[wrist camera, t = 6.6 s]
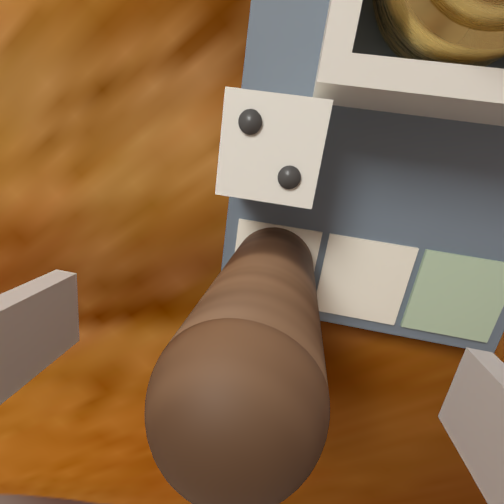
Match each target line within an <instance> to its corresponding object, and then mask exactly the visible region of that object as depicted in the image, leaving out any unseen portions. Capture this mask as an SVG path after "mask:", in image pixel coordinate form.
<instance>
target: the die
mask: <svg viewBox="0 0 504 504" xmlns="http://www.w3.org/2000/svg"><path fill="white" fill-rule="evenodd" d="M332 105H333V100H332V99H324V98H315V97H307V96H299V95H291V94H282V93H274V92H266V91H258V90H249V89H241V88H233V87H225V95H224V106H223V116H222V127H221V137H220V148H219V158H218V169H217V179H216V190H215V194H217V195H223V196H230V197H236V198H243V199H249V200H255V201H262V202H268V203H274V204H281V205H287V206H293V207H300V208H306V209H312V205H313V200H314V195H315V190H316V185H317V180H318V175H319V170H320V165H321V160H322V155H323V150H324V145H325V140H326V135H327V130H328V125H329V120H330V115H331V110H332Z"/></svg>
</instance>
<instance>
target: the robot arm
mask: <svg viewBox="0 0 504 504" xmlns="http://www.w3.org/2000/svg"><path fill="white" fill-rule="evenodd" d="M78 341H79V319H78V296H77V273H72V272H67V271H62V270H54V271H52V272H50V273H48V274H45V275H43V276H41V277H38V278H36V279H34V280H32V281H29V282H27V283H25V284H23V285H20V286H18V287H16V288H13V289H11V290H9V291H7V292H4V293H2V294H0V405H1V404H2V403H3V402H4V401H6V400H7V399H8V398H9V397H11V396H12V395H13V394H14V393H15V392H17V391H18V390H19V389H20V388H22V387H23V386H24V385H25V384H27V383H28V382H29V381H30V380H31V379H33V378H34V377H35V376H36V375H38V374H39V373H40V372H41V371H42V370H44V369H45V368H46V367H47V366H49V365H50V364H51V363H52V362H53V361H55V360H56V359H57V358H58V357H60V356H61V355H62V354H63V353H65V352H66V351H67V350H68V349H69V348H71V347H72V346H73V345H74V344H76V343H77V342H78ZM438 417H439V419H440V421H441V423H442V424H443V426H444V428H445V430H446V431H447V433H448V435H449V437H450V438H451V440H452V442H453V444H454V445H455V447H456V449H457V451H458V453H459V454H460V456H461V458H462V460H463V461H464V463H465V465H466V467H467V468H468V470H469V472H470V474H471V475H472V477H473V479H474V481H475V482H476V484H477V486H478V488H479V489H480V491H481V493H482V495H483V496H484V498H485V500H486V502H487V503H488V504H504V363H503V362H502V361H501V360H500V359H499V358H498V357H497V356H496V355H494V354H493V353H492V352H488V351H483V350H477V349H472V348H467V347H466V349H465V352H464V354H463V357H462V359H461V362H460V364H459V366H458V369H457V371H456V374H455V376H454V379H453V381H452V383H451V386H450V388H449V391H448V393H447V396H446V398H445V400H444V403H443V405H442V408H441V410H440V413H439V415H438Z"/></svg>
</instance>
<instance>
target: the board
mask: <svg viewBox="0 0 504 504" xmlns="http://www.w3.org/2000/svg"><path fill="white" fill-rule="evenodd" d="M329 2H330V0H251V7H250V16H249V25H248V34H247V43H246V52H245V61H244V70H243V79H242V88H241V89H249V90H258V91H266V92H274V93H282V94H291V95H299V96H307V97H313V92H314V86H315V80H316V75H317V69H318V64H319V58H320V52H321V47H322V41H323V36H324V30H325V24H326V19H327V13H328V8H329ZM352 53H359V54H369V55H378V56H388V57H397V55H396V54H395V53H394V52H393V51H392V50H391V49H390V48H389V46H388V45H387V43H386V42H385V41H384V39H383V37H382V35H381V33H380V31H379V28H378V25H377V22H376V19H375V14H374V9H373V1H372V0H363V1H362V6H361V11H360V16H359V21H358V25H357V30H356V35H355V40H354V45H353V50H352ZM397 58H399V57H397ZM485 67H491V68H501V69H504V57H503V58H501V59H499V60H497V61H495V62H493V63H491V64H489V65H487V66H485ZM269 227H277V228H283V229H286V230H289V231H291V232H293V233H295V234H296V235H298V236H299V237H300V238H301V239H302V240H303V241H304V242H305V243H306V245H307V246H308V248H309V250H310V252H311V255H312V259H313V267H314V275H315V283H316V291H317V300H318V308H319V316H320V321H325V322H330V323H335V324H341V325H346V326H351V327H356V328H361V329H367V330H372V331H377V332H382V333H387V334H393V335H398V336H403V337H408V338H413V339H419V340H424V341H429V342H434V343H439V344H445V345H450V346H455V347H460V348H465V349H466V347H467V348H472V349H477V350H483V351H488V352H492V353H493V354H494V352H495V349H496V347H497V345H498V343H499V341H500V338H501V336H502V334H503V332H504V126H497V125H489V124H481V123H473V122H465V121H456V120H448V119H440V118H432V117H424V116H416V115H408V114H400V113H392V112H383V111H375V110H367V109H359V108H351V107H343V106H335V105H332V110H331V115H330V120H329V125H328V130H327V135H326V140H325V145H324V150H323V155H322V160H321V165H320V170H319V175H318V180H317V185H316V190H315V195H314V200H313V205H312V209H306V208H300V207H293V206H287V205H281V204H274V203H268V202H262V201H255V200H249V199H243V198H236V197H230V196H229V205H228V214H227V223H226V232H225V241H224V250H223V259H222V268H221V271H222V269H223V268H224V267H225V265H226V264H227V263H228V261H229V260H230V258H231V257H232V256H233V254H234V253H235V252H236V250H237V249H238V247H239V246H240V245H241V243H242V242H243V241H244V240H245V239H246V237H248V236H249V235H250V234H252V233H253V232H255V231H257V230H260V229H263V228H269Z"/></svg>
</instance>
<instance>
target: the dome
mask: <svg viewBox="0 0 504 504" xmlns="http://www.w3.org/2000/svg"><path fill="white" fill-rule="evenodd" d="M372 1H373V9H374V14H375V19H376V22H377V25H378V28H379V31H380V33H381V35H382V37H383V39H384V41H385V42H386V43H387V45H388V46H389V48H390V49H391V50H392V51H393V52H394V53H395V54H396V55H397V57H399V58H407V59H416V60H425V61H435V62H444V63H454V64H463V65H473V66H482V67H485V66H487V65H489V64H491V63H493V62H495V61H497V60H499V59H501V58H503V57H504V0H372Z"/></svg>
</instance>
